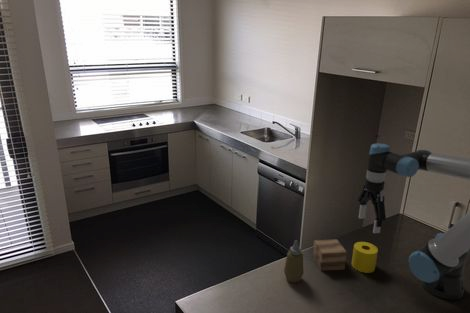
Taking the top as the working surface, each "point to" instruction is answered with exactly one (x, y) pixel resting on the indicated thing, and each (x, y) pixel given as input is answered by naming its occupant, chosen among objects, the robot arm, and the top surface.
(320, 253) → the tower block top
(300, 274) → the squeeze bottle
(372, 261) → the yellow toilet paper roll
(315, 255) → the tower block bottom
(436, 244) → the robot arm
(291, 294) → the top surface
